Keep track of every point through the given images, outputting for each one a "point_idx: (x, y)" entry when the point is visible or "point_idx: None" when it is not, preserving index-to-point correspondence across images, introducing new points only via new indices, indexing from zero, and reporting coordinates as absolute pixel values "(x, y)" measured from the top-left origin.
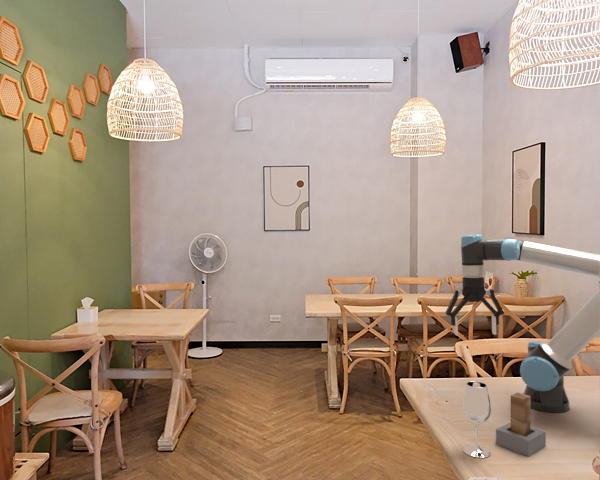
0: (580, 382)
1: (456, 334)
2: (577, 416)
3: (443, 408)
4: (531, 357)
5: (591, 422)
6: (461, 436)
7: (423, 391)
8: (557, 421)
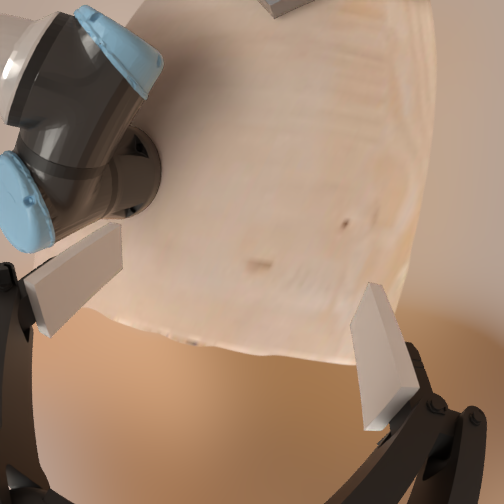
0: None
1: (379, 287)
2: None
3: (376, 178)
4: (96, 32)
5: None
6: (394, 32)
7: None
8: None
